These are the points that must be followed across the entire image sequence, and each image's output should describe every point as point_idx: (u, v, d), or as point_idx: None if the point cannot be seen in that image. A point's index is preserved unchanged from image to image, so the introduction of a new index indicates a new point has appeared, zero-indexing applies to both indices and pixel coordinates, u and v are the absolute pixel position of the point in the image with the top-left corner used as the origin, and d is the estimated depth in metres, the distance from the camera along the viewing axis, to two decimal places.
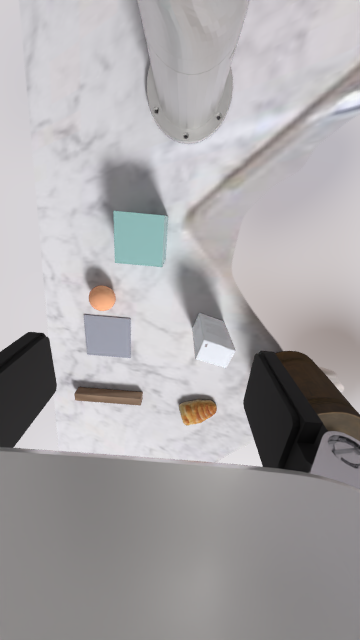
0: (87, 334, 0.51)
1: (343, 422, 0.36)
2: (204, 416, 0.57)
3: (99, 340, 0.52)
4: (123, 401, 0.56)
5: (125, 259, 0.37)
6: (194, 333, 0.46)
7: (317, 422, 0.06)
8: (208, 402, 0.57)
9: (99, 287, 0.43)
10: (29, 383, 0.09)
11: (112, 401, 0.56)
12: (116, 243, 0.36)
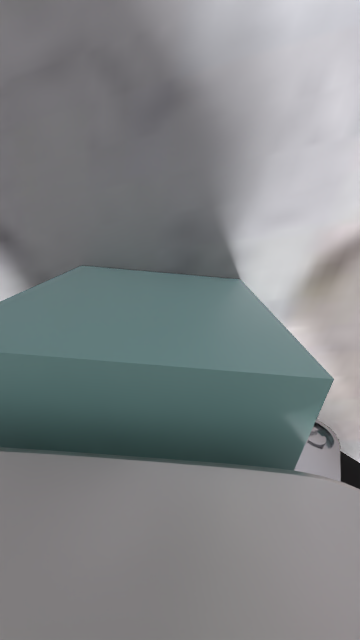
0: None
1: None
2: None
3: None
4: None
5: None
6: None
7: None
8: None
9: None
10: None
11: None
12: None
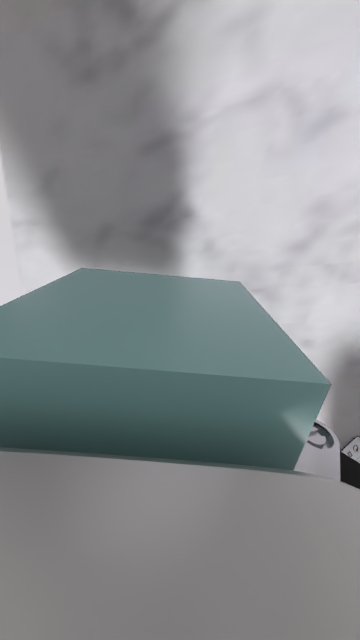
0: None
1: None
2: None
3: None
4: None
5: None
6: None
7: None
8: None
9: None
10: None
11: None
12: None
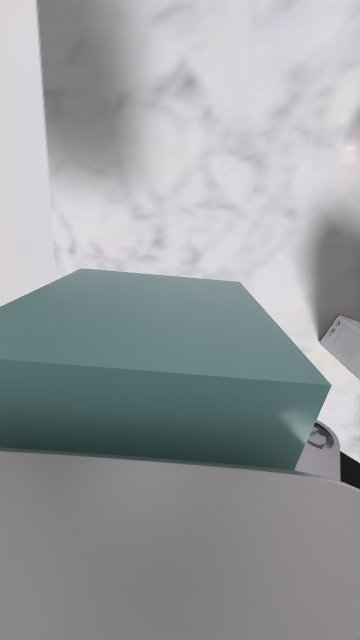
0: None
1: None
2: None
3: None
4: None
5: None
6: (344, 354, 0.24)
7: None
8: None
9: None
10: None
11: None
12: None
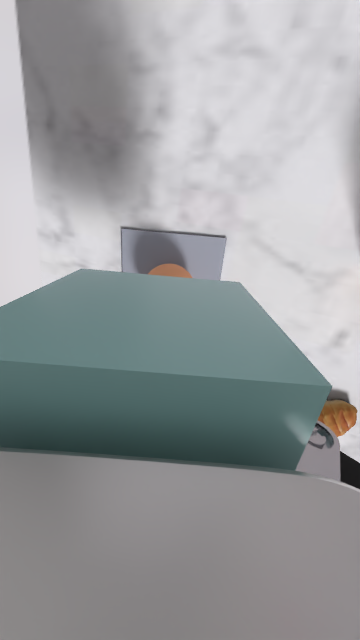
0: None
1: None
2: (337, 433, 0.28)
3: None
4: None
5: None
6: None
7: None
8: (341, 404, 0.28)
9: None
10: None
11: None
12: None
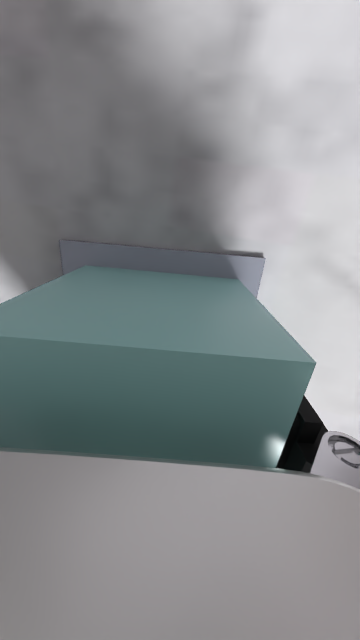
0: None
1: None
2: None
3: None
4: None
5: None
6: None
7: (317, 422, 0.06)
8: None
9: None
10: None
11: None
12: None
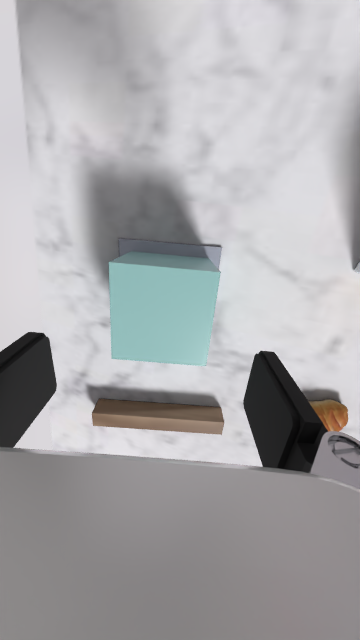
0: None
1: None
2: None
3: None
4: (188, 427, 0.28)
5: (133, 354, 0.18)
6: None
7: (317, 422, 0.06)
8: (331, 404, 0.28)
9: None
10: (29, 383, 0.09)
11: (166, 427, 0.28)
12: (114, 324, 0.17)
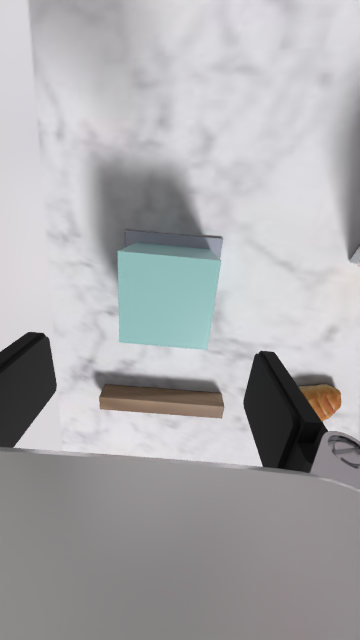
0: None
1: None
2: (322, 416, 0.29)
3: None
4: (189, 411, 0.30)
5: (139, 338, 0.20)
6: None
7: (317, 422, 0.06)
8: (325, 388, 0.29)
9: None
10: (29, 383, 0.09)
11: (169, 411, 0.30)
12: (122, 310, 0.19)
